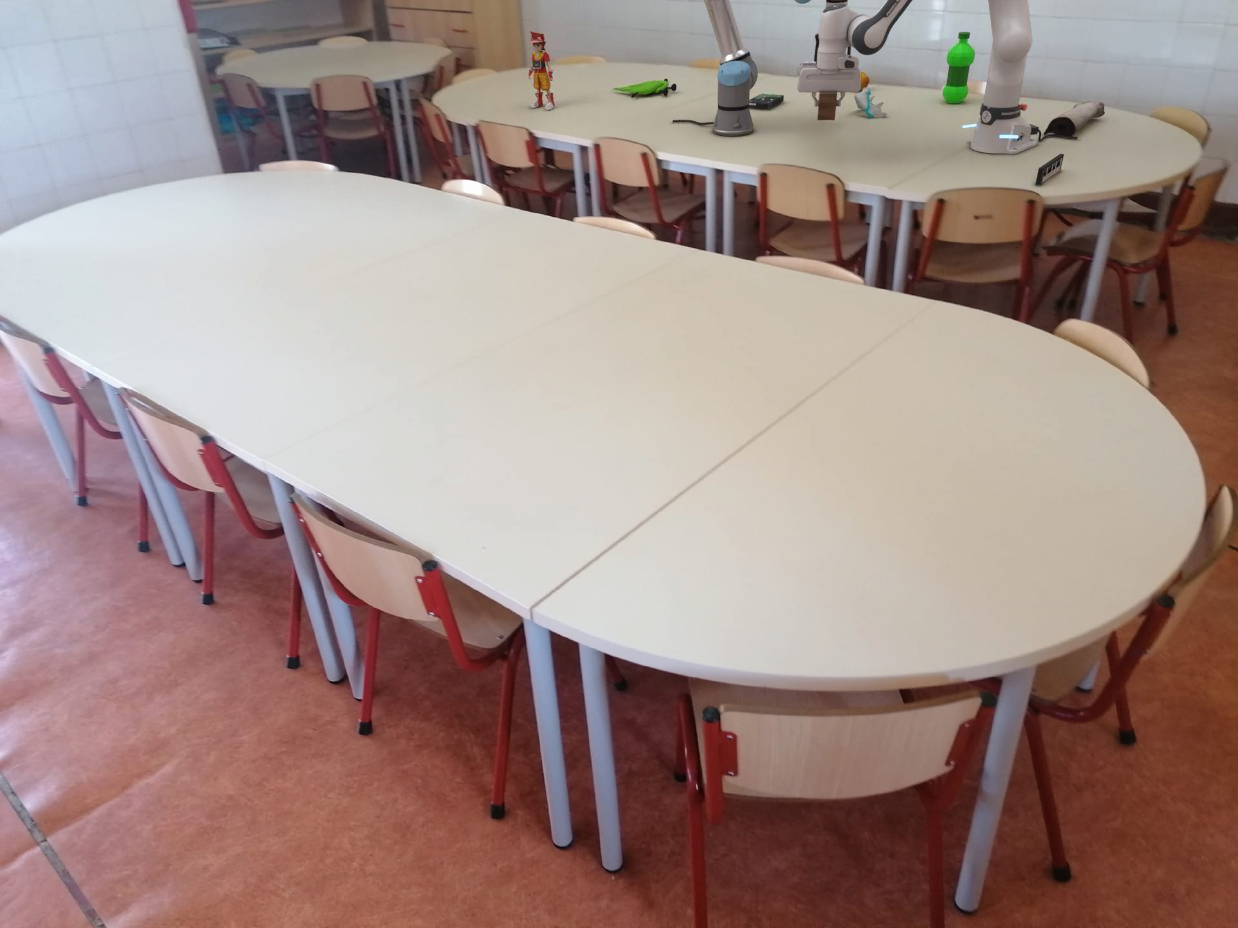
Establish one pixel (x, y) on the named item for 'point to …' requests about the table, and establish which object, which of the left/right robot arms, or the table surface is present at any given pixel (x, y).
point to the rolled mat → (1075, 118)
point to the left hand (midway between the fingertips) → (830, 84)
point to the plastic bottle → (958, 69)
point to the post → (827, 105)
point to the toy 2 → (648, 88)
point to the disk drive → (765, 101)
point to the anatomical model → (868, 104)
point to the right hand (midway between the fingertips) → (827, 106)
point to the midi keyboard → (1049, 169)
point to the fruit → (864, 80)
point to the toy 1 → (541, 71)
